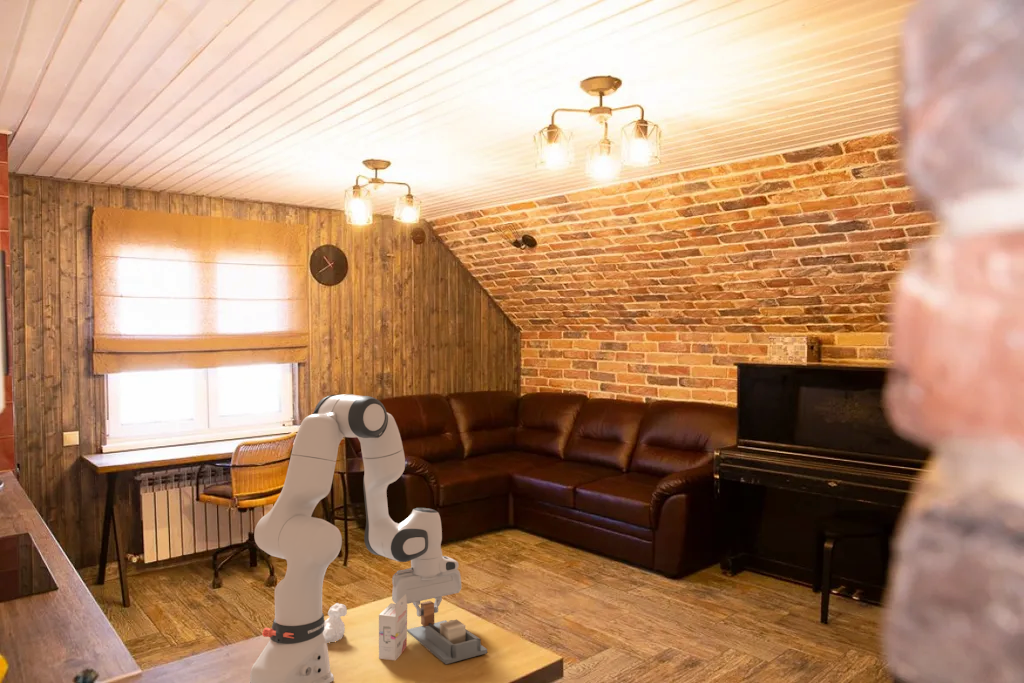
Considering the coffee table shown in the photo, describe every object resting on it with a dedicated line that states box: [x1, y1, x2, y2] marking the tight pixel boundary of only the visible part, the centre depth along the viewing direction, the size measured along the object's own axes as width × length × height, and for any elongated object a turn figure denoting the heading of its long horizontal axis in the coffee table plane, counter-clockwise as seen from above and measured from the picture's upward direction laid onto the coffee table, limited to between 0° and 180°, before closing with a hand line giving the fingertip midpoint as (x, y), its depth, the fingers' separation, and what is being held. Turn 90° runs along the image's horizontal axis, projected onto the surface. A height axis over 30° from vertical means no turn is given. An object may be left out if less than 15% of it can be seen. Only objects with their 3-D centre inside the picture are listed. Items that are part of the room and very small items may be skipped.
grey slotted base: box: [407, 619, 488, 665], centre depth 200 cm, size 24×12×4 cm, turn 32°
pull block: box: [420, 600, 466, 644], centre depth 203 cm, size 19×5×6 cm, turn 32°
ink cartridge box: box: [378, 594, 408, 661], centre depth 193 cm, size 9×5×15 cm, turn 168°
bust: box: [323, 602, 348, 644], centre depth 203 cm, size 12×8×11 cm
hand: (427, 613), depth 210 cm, fingers closed on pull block, 3 cm apart
